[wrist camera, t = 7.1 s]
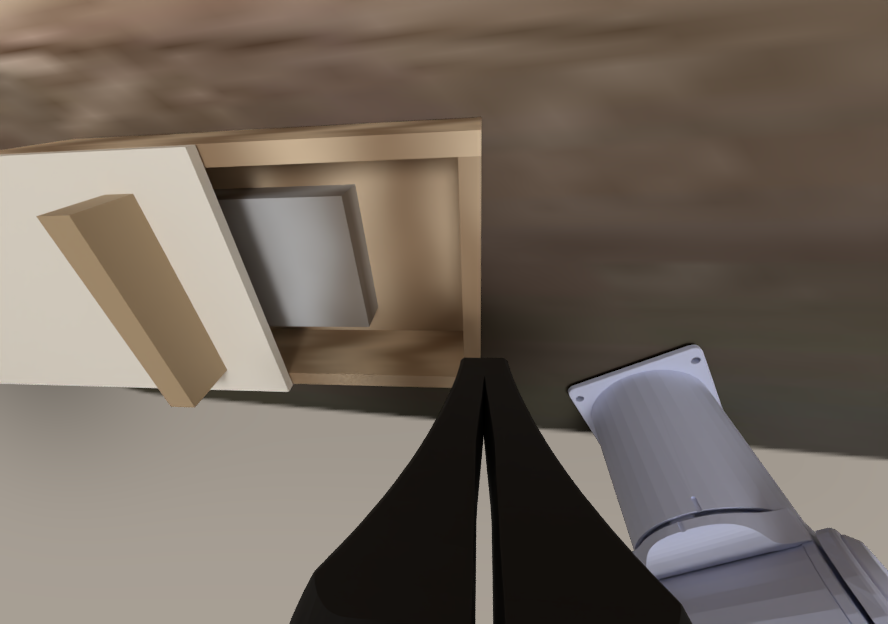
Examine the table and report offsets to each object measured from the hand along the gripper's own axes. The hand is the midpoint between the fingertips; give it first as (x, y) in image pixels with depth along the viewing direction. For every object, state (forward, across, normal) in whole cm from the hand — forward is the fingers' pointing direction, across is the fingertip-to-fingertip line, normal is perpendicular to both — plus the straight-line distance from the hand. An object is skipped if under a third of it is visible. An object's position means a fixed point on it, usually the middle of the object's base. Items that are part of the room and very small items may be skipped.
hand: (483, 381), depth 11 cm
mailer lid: (+5, +20, -1) cm, 21 cm away
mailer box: (+9, +10, 0) cm, 14 cm away
